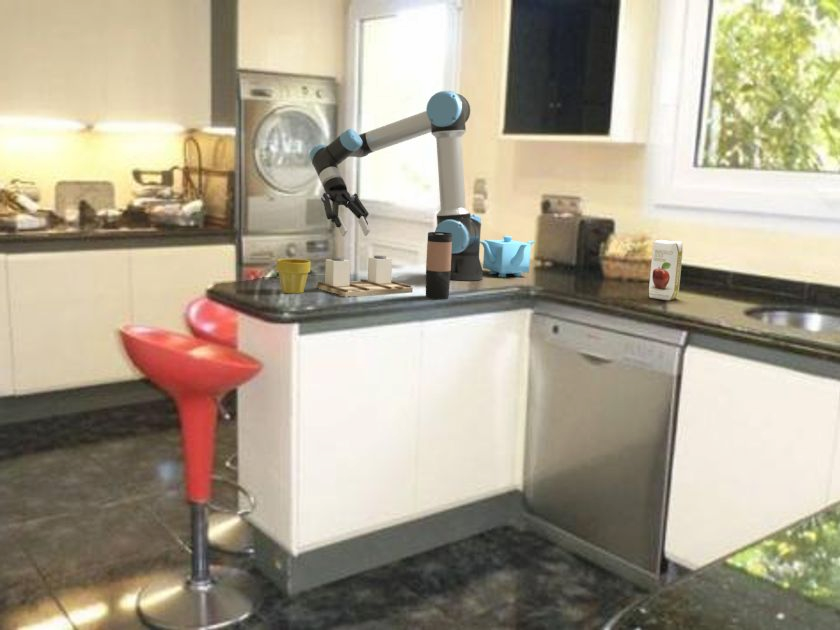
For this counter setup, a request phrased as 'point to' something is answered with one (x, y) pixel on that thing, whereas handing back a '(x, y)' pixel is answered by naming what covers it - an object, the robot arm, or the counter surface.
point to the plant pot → (293, 274)
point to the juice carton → (665, 269)
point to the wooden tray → (366, 288)
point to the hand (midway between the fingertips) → (356, 233)
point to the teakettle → (506, 256)
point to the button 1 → (337, 272)
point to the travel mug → (438, 265)
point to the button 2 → (379, 269)
